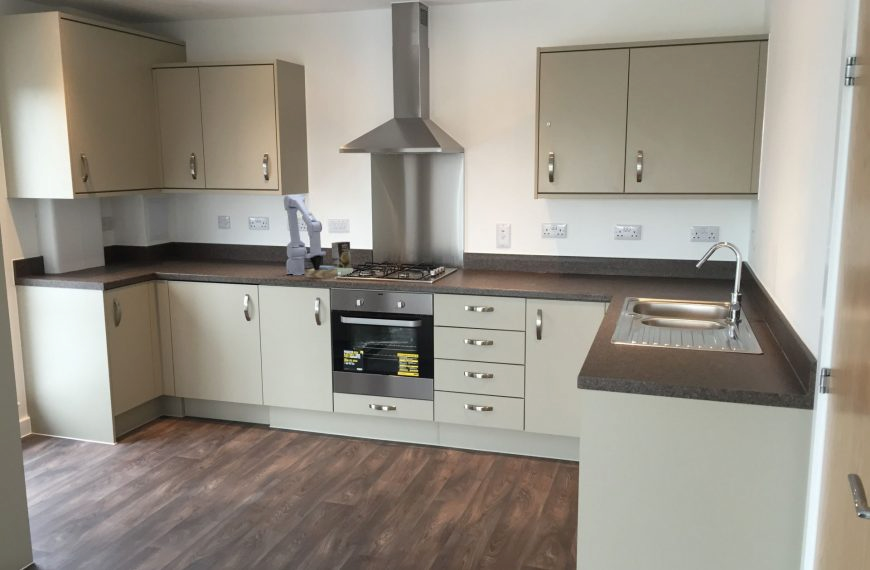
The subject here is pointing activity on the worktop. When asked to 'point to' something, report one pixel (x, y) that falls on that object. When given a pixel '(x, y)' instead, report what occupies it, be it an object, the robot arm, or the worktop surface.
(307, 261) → the small box
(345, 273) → the tray
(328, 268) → the blue rectangular block
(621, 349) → the worktop surface
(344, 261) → the coffee box
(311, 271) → the tan flat block
